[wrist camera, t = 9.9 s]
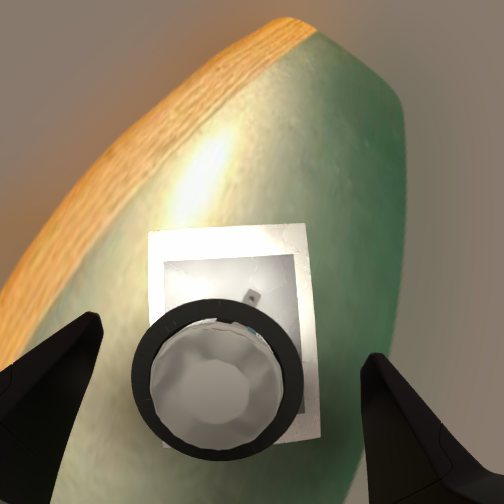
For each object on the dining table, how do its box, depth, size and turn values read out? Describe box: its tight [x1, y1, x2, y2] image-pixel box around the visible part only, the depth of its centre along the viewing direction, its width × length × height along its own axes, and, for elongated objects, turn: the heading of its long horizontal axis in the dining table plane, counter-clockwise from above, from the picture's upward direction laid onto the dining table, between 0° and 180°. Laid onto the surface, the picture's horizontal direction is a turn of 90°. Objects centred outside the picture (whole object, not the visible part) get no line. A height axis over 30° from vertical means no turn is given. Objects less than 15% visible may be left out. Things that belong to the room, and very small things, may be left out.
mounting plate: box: [148, 223, 321, 448], centre depth 18 cm, size 14×10×1 cm
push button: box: [131, 289, 304, 461], centre depth 13 cm, size 7×5×10 cm
